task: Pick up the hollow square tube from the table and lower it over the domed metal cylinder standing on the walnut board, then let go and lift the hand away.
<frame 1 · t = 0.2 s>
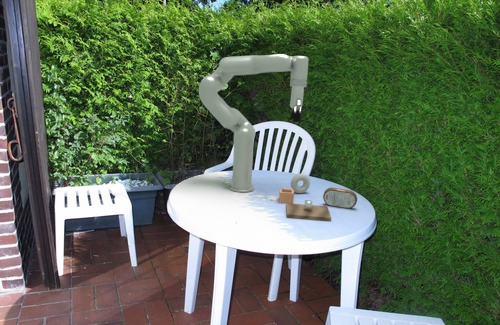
hand: (295, 120, 185), 36 cm above the table, tool pointing down, fingers open, 9 cm apart
tin: (338, 207, 177), on the table
donut: (299, 193, 194), on the table
hollow square tube: (285, 201, 180), on the table
board: (307, 213, 166), on the table
domed metal cylinder: (308, 205, 165), on the board, point 4 cm above the table
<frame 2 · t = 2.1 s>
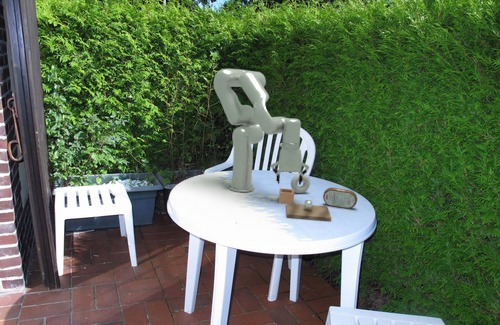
hand: (289, 183, 178), 9 cm above the table, tool pointing down, fingers open, 9 cm apart
nothing on the table moved.
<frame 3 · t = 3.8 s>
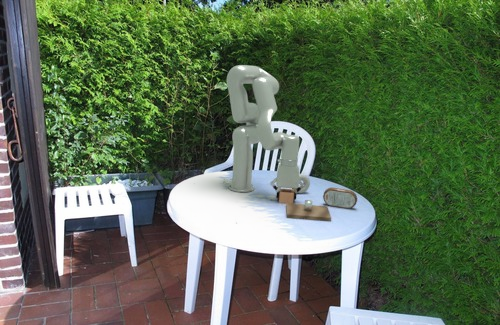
hand: (286, 199, 180), 1 cm above the table, tool pointing down, fingers closed on hollow square tube, 6 cm apart
hollow square tube: (285, 201, 180), on the table, touching gripper
everything else where it was.
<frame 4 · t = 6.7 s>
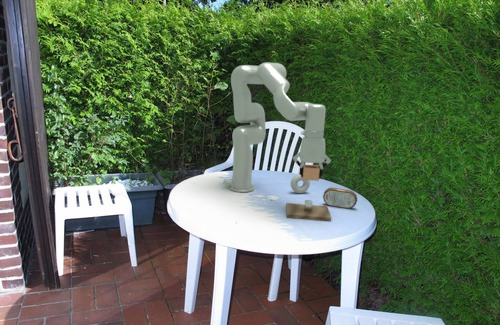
hand: (310, 176, 163), 16 cm above the table, tool pointing down, fingers closed on hollow square tube, 6 cm apart
hollow square tube: (310, 178, 163), point 15 cm above the table, touching gripper
everything else where it was.
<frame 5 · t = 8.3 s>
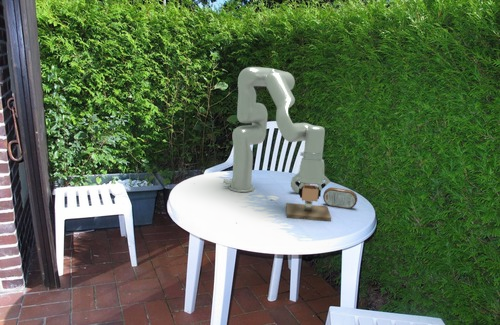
hand: (309, 197, 164), 7 cm above the table, tool pointing down, fingers closed on hollow square tube, 6 cm apart
hollow square tube: (309, 198, 165), point 7 cm above the table, touching gripper
everything else where it was.
when the fingers open (4 cm above the table, at t = 9.5 s): hollow square tube drops 2 cm, resting on board.
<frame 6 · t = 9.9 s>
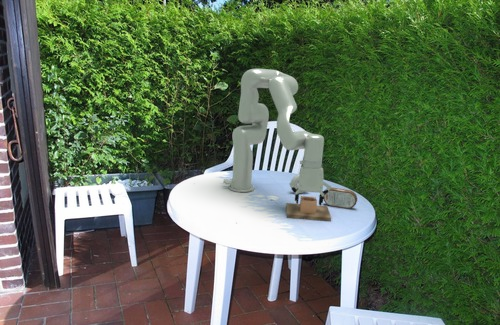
hand: (308, 203, 165), 5 cm above the table, tool pointing down, fingers open, 9 cm apart
hollow square tube: (307, 210, 166), point 1 cm above the table, touching board
everything else where it was.
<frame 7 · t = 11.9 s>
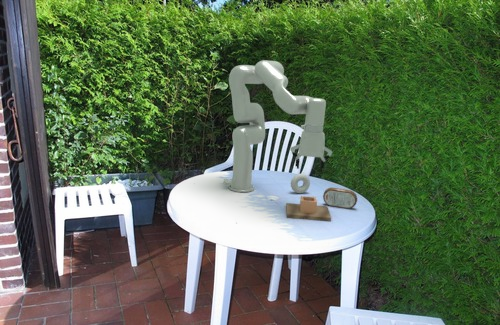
hand: (309, 169, 164), 19 cm above the table, tool pointing down, fingers open, 9 cm apart
nothing on the table moved.
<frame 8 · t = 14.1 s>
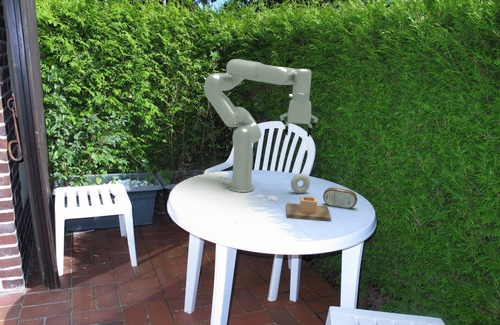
hand: (297, 135, 177), 30 cm above the table, tool pointing down, fingers open, 9 cm apart
nothing on the table moved.
at the end: hollow square tube 0.1 cm off-centre on the board, point 1.5 cm above the board's base; hollow square tube tilted 0°; the gripper is holding nothing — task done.
